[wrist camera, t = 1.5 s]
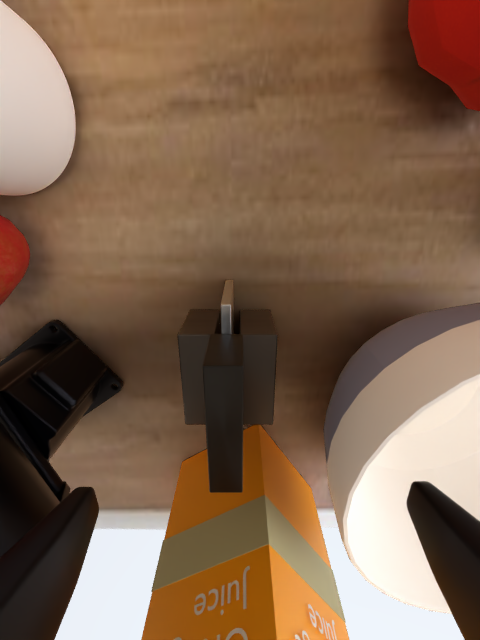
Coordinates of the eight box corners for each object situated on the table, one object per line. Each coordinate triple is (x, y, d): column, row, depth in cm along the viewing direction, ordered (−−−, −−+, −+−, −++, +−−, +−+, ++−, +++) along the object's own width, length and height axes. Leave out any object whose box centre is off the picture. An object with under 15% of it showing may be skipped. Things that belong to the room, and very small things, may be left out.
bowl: (537, 239, 17) (868, 275, 8) (516, 439, 23) (696, 589, 14) (277, 306, 18) (310, 399, 10) (318, 477, 24) (363, 634, 15)
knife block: (267, 386, 21) (272, 425, 17) (195, 386, 21) (185, 425, 17) (270, 309, 19) (277, 334, 15) (189, 309, 19) (176, 334, 15)
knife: (241, 408, 22) (242, 514, 14) (220, 408, 22) (210, 514, 14) (242, 279, 18) (243, 330, 10) (217, 279, 18) (200, 330, 10)
